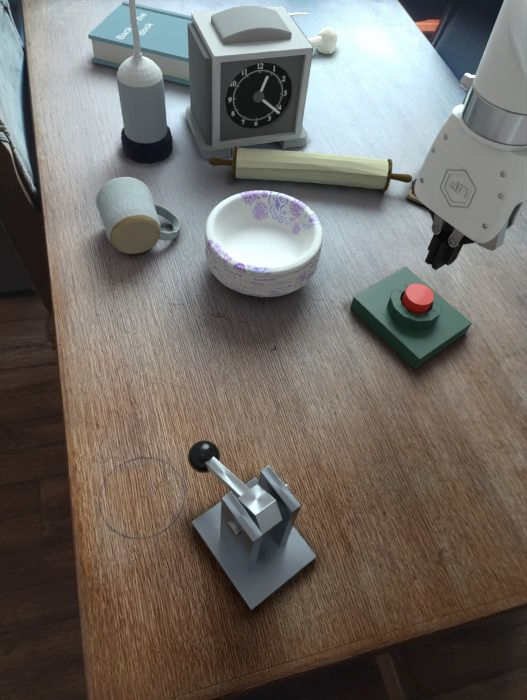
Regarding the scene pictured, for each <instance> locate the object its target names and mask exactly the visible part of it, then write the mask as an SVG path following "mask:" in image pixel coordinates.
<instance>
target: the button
mask: <svg viewBox="0 0 527 700" xmlns="http://www.w3.org/2000/svg"><path fill="white" fill-rule="evenodd" d="M429 287H430V286H429ZM429 287H427V286H425V285H423V284H411V285H409V286H408V287H407V288H406V291H405V293H404V295H403V298H402V304H403V306H404V307H405V308H406V309H407V310H408V311H410V312H413V313H416V314H422V313H425V312H427V311H428V310H429V308H430V306H431V304H432V302H433V300H434V294H433V292H432V290H431V289H430V288H431V287H430V288H429Z"/></svg>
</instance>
